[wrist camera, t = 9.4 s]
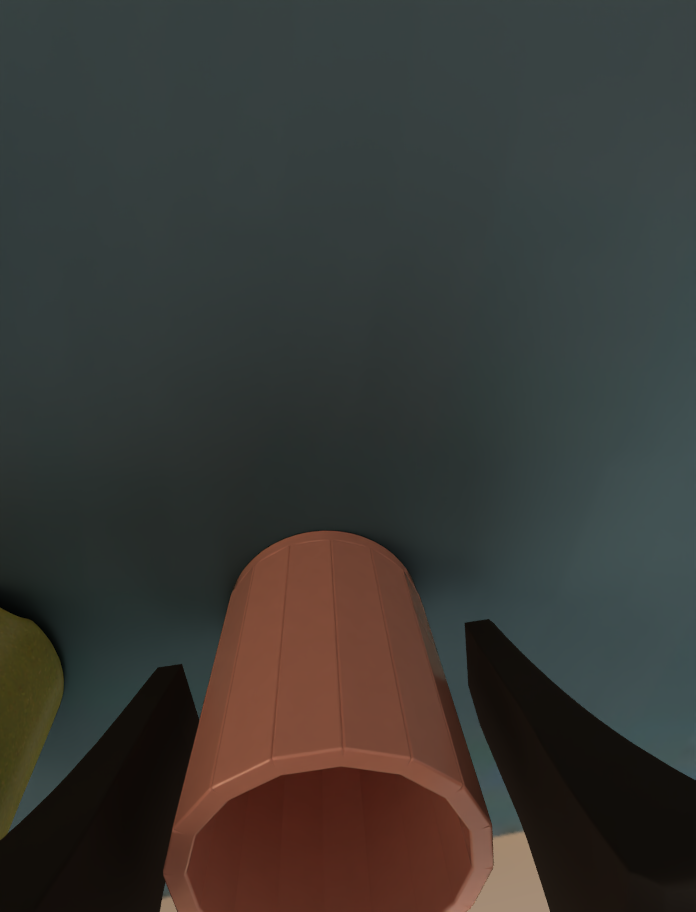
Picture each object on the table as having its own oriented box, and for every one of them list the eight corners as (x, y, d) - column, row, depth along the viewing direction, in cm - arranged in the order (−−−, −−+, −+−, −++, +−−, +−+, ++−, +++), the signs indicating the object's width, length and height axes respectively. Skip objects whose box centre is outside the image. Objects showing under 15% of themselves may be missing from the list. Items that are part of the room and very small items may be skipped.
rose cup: (410, 516, 14) (488, 726, 8) (424, 672, 16) (498, 943, 10) (210, 544, 14) (123, 781, 8) (249, 698, 16) (206, 988, 10)
